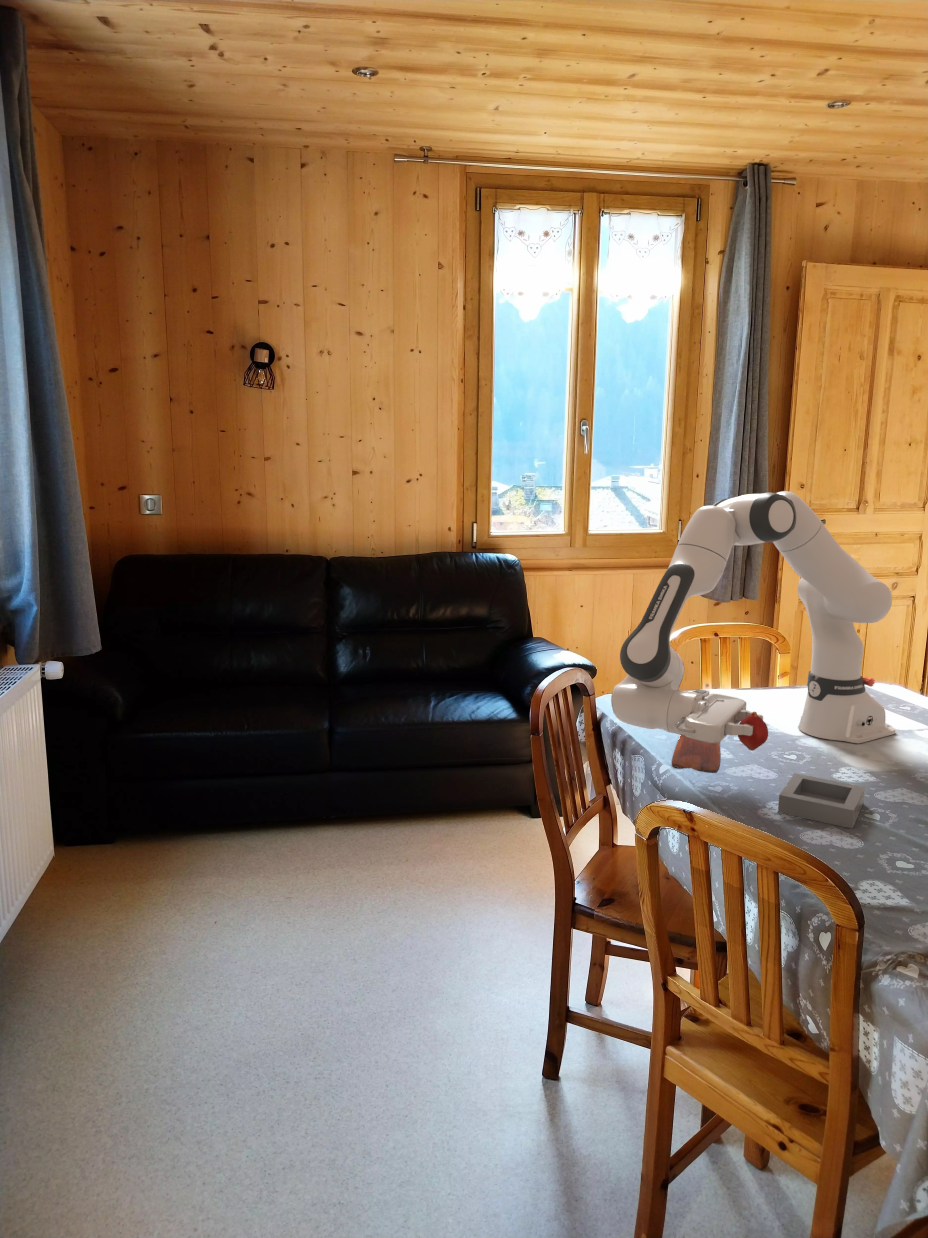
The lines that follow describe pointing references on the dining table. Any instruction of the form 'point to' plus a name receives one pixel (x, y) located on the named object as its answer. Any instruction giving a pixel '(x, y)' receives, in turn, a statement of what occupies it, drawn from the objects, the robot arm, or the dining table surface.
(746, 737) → the red round fruit
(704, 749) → the wooden tablet
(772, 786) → the dining table surface
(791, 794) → the holder
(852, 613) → the robot arm
